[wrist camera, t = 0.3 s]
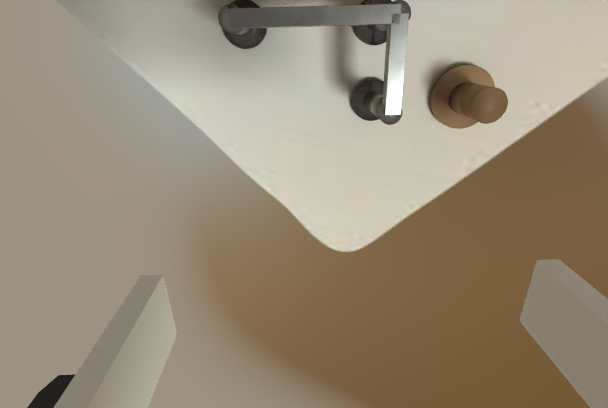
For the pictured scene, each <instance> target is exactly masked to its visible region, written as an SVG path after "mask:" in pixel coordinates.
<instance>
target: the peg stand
mask: <svg viewBox="0 0 608 408" xmlns="http://www.w3.org/2000/svg"><path fill="white" fill-rule="evenodd" d="M507 104H508V99H507V96H506V94H505V92H504V91H503V90H501V89H499V88H495V85H494V82H493V79H492V77H491V76H490V74H489V73H488V72H487V71H486V70H484V69H482V68H481V67H478V66H473V65H460V66H456V67H453V68H451V69H449V70H448V71H446V72H445V73H444V74H443V75H441V77H440V78H439V79H438V80H437V81H436V83H435V85H434V87H433V89H432V92H431V97H430V106H431V110H432V113H433V115H434V116H435V118H436V119H437V120H438V121H439V122H441V123H443V124H444V125H446V126H448V127H451V128H459V129H460V128H466V127H469V126H472V125H474V124H476V123H477V122H480V123H484V124H488V123H492V122H495V121H496V120H498V119H499V118H500V117H501V116H502V115H503V114H504V113H505V111H506V108H507Z"/></svg>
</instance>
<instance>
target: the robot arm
mask: <svg viewBox="0 0 608 408" xmlns="http://www.w3.org/2000/svg"><path fill="white" fill-rule="evenodd" d="M520 322H521V323H522V324H523V326H524V327H525V328H526V329H527V330H528V332H529V333H530V334H531V335H532V336H533V338H534V339H535V340H536V342H537V343H538V344H539V345H540V346H541V348H542V349H543V350H544V351H545V353H546V354H547V355H548V356H549V357H550V359H551V360H552V361H553V362H554V364H555V365H556V366H557V367H558V369H559V370H560V371H561V372H562V374H563V375H564V376H565V377H566V378H567V380H568V381H569V382H570V383H571V385H572V386H573V387H574V388H575V389H576V391H577V392H578V393H579V394H580V396H581V397H582V398H583V399H584V401H585V402H586V403H587V404H588V405H589V407H590V408H608V299H607V298H605V297H604V296H603V295H602V294H600V293H599V292H598V291H597V290H595V289H594V288H593V287H592V286H591V285H589V284H588V283H587V282H586V281H584V280H583V279H582V278H581V277H580V276H578V275H577V274H576V273H575V272H573V271H572V270H571V269H570V268H569V267H567V266H566V265H565V264H564V263H562V262H561V261H560V260H558V259H555V260H537V262H536V266H535V269H534V272H533V276H532V279H531V283H530V286H529V290H528V293H527V297H526V300H525V303H524V307H523V310H522V314H521V317H520ZM176 336H177V332H176V328H175V324H174V319H173V315H172V311H171V307H170V302H169V298H168V294H167V290H166V286H165V282H164V277H163V275H141V276H140V278H139V279H138V281H137V282H136V284H135V285H134V287H133V288H132V290H131V291H130V293H129V294H128V296H127V297H126V299H125V300H124V302H123V303H122V305H121V306H120V308H119V309H118V311H117V313H116V314H115V315H114V317H113V318H112V320H111V321H110V323H109V324H108V326H107V328H106V329H105V331H104V332H103V334H102V335H101V337H100V338H99V340H98V341H97V343H96V344H95V346H94V347H93V349H92V350H91V352H90V353H89V355H88V356H87V358H86V359H85V361H84V363H83V364H82V366H81V367H80V368H79V370H78V371H77V373H76V375H59V376H57V377H56V378H55V379H54V380H53V381H52V382H50V383H49V384H48V385H47V386H46V387H45V388H43V389H42V390H41V391H40V392H39V393H38V394H37V396H36V397H35V398H34V399H33V401H32V402H31V404H30V405H29V406H28V408H148V406H149V403H150V400H151V398H152V396H153V393H154V391H155V388H156V386H157V383H158V381H159V378H160V376H161V373H162V371H163V368H164V365H165V363H166V361H167V358H168V356H169V353H170V351H171V348H172V346H173V343H174V341H175V338H176Z"/></svg>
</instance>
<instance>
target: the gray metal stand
mask: <svg viewBox="0 0 608 408" xmlns="http://www.w3.org/2000/svg"><path fill="white" fill-rule="evenodd" d="M410 16H411V9H410V6H409V5H408V3H406V2H405V1H403V0H396V1H394V2H392V1H391V0H365V1H363V2H362V3H361V4H360V5H343V6H306V7H269V8H260V7H259V6H258V5H257V4H255V3H254V2H252V1H250V0H236V1H234V2H232V3H231V4H230V5H226V6H224V7H223V8H222V9H221V10H220V12H219V17H218V18H219V23H220V25H221V27H222V28H223V31H224V33H225V35H226V37H227V39H228V40H229V41H230V42H231V43H232V44H233V45H235V46H237V47H239V48H243V49H249V48H253V47H256V46H257V45H259V44H260V43H261V42H262V40H263V39H264V37H265V35H266V31H267V28H276V27H312V26H348V25H354V30H355V33H356V35H357V36H358V38H359V39H360V40H361V41H362V42H364V43H366V44H369V45H379V44H382V43H384V42H386V55H385V71H384V82H383V81H381V80H379V79H373V78H372V79H367V80H364V81H362V82H361V83H359V84H358V85H357V86H356V88H355V89H354V91H353V94H352V98H351V103H352V108H353V110H354V111H355V113H356V114H357V115H358V116H359V117H360V118H362V119H364V120H368V121H373V120H377V119H380V120H381V121H382V122H384V123H385V124H388V125H391V124H395V123H397V122H398V121H399V120H400V118H401V116H402V108H401V104H402V92H403V80H404V68H405V56H406V44H407V33H408V21H409V19H410Z"/></svg>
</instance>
